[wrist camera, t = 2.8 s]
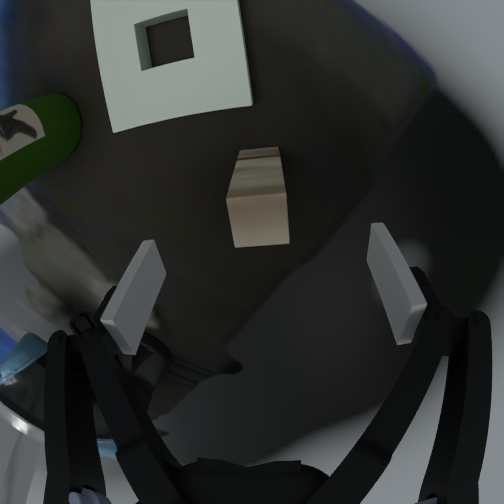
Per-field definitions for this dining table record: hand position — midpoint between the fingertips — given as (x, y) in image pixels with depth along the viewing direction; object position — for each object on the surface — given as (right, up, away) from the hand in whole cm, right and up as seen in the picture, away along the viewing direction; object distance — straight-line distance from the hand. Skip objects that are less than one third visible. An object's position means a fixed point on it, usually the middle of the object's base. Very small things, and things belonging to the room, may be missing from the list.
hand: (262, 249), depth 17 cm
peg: (0, +9, +13) cm, 16 cm away
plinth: (-8, +21, +5) cm, 23 cm away
